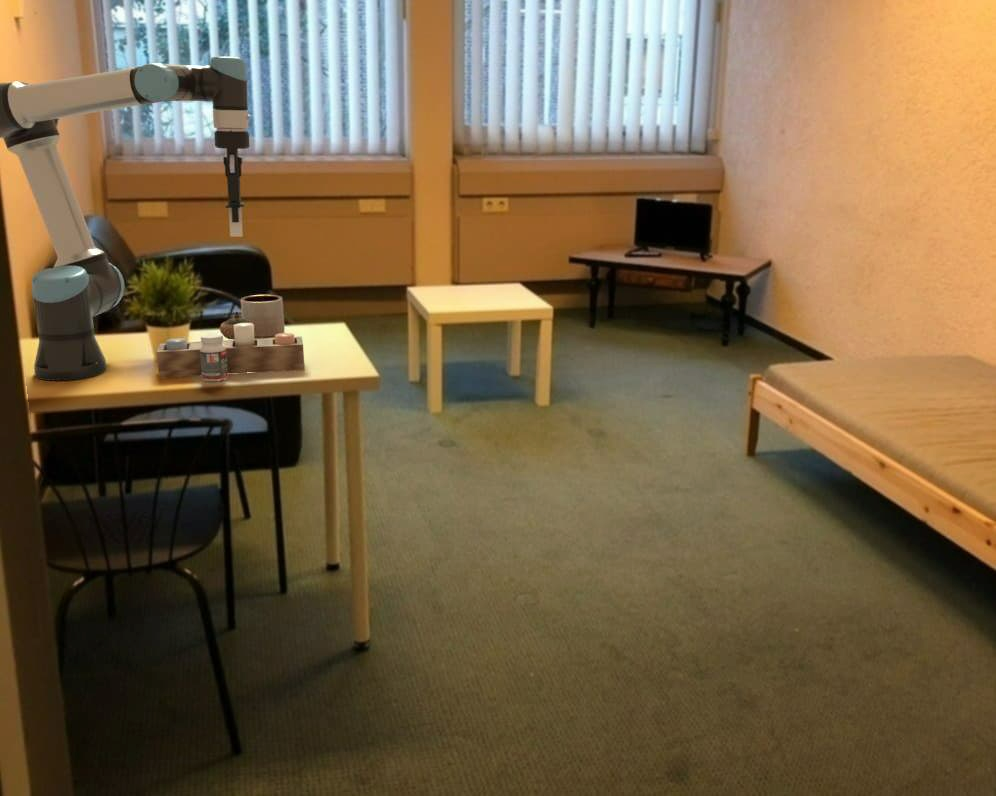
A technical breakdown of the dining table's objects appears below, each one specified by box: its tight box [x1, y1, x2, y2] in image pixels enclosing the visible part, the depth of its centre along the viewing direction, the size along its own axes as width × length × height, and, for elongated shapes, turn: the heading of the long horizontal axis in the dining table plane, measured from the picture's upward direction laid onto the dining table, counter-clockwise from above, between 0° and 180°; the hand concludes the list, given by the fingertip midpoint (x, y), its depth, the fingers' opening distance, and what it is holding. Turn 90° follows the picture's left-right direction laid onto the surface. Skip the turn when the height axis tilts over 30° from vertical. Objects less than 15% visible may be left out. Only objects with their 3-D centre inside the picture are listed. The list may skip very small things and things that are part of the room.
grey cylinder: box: [165, 337, 187, 350], centre depth 229 cm, size 4×4×6 cm
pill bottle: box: [200, 332, 229, 382], centre depth 223 cm, size 6×6×10 cm
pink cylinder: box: [274, 332, 295, 345], centre depth 234 cm, size 4×4×6 cm
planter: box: [240, 294, 285, 339], centre depth 266 cm, size 11×11×10 cm
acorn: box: [219, 311, 255, 340], centre depth 248 cm, size 8×8×10 cm
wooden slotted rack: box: [156, 336, 305, 378], centre depth 232 cm, size 32×8×6 cm, turn 103°
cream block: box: [234, 323, 256, 347], centre depth 231 cm, size 4×4×6 cm
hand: (236, 236), depth 231 cm, fingers closed
